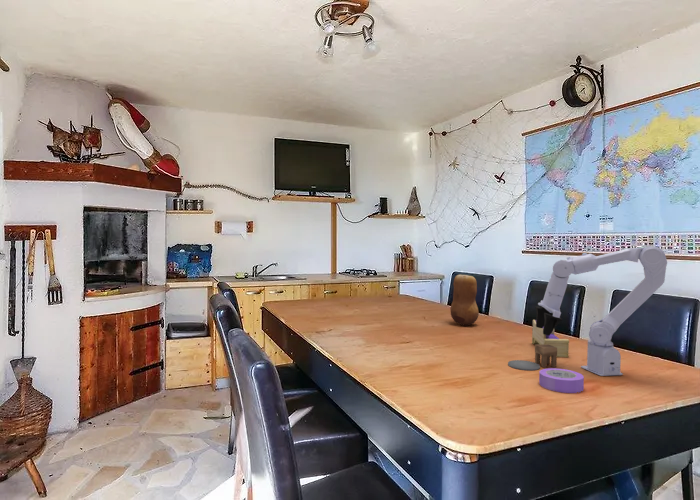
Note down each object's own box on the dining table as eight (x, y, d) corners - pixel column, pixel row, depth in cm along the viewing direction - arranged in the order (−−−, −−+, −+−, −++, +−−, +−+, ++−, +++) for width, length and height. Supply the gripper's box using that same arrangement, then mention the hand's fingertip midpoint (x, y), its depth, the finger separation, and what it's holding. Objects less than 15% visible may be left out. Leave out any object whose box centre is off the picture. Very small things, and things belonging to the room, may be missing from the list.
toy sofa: (569, 358, 160) (570, 330, 159) (544, 357, 161) (544, 329, 161) (553, 344, 180) (554, 319, 180) (531, 343, 182) (531, 318, 181)
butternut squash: (481, 324, 221) (482, 274, 220) (473, 328, 210) (474, 276, 209) (454, 321, 228) (455, 273, 228) (445, 325, 217) (446, 274, 216)
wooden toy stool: (556, 367, 148) (557, 347, 148) (543, 367, 147) (543, 348, 147) (547, 362, 153) (548, 344, 152) (534, 363, 152) (535, 344, 152)
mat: (546, 369, 144) (546, 368, 144) (517, 371, 143) (517, 369, 143) (529, 361, 154) (529, 359, 154) (502, 362, 153) (502, 360, 153)
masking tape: (532, 386, 129) (532, 373, 129) (548, 377, 137) (548, 365, 137) (575, 396, 121) (575, 383, 120) (589, 387, 129) (589, 374, 129)
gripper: (536, 286, 158) (525, 321, 160) (550, 296, 144) (537, 334, 146) (555, 291, 157) (544, 326, 159) (571, 301, 143) (558, 340, 145)
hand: (542, 331), depth 153 cm, fingers open, 7 cm apart
